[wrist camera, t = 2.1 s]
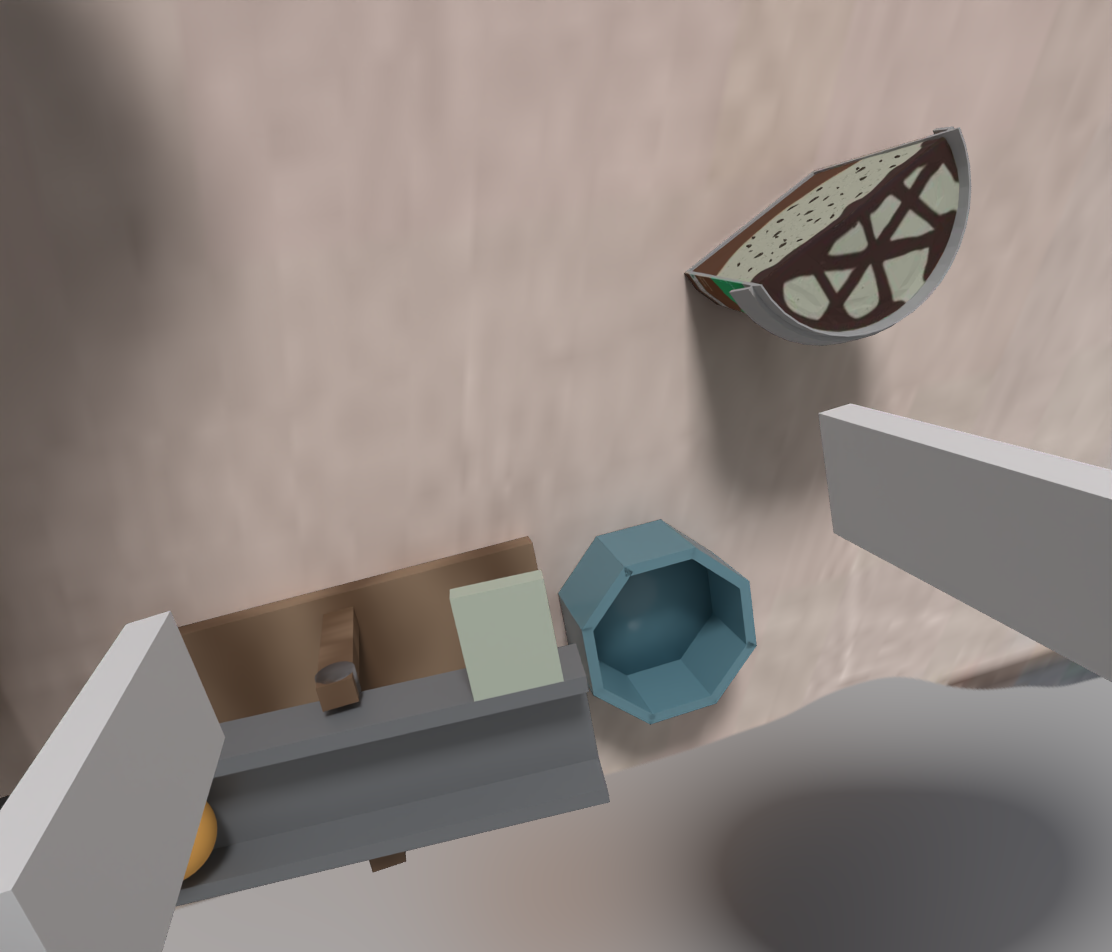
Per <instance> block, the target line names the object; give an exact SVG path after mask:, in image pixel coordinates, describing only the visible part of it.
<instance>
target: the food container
mask: <svg viewBox="0 0 1112 952" xmlns="http://www.w3.org/2000/svg"><path fill="white" fill-rule="evenodd" d="M933 132H934V135H931V136H927V137H924V138H921V139H917V140H914V141H911V142H907V143H904V144H901V145H897V146H894V147H891V148H888V149H884V150H881V151H878V152H874V153H871V154H868V155H864V156H861V157H858V158H854V159H851V160H848V161H844V162H841V163H838V164H834V165H831V166H828V167H825V168H821V169H818V170H815V171H813V172H812V173H810V174H809V175H808V176H807V177H805V178H804V179H803V180H801V181H800V182H799V183H798V184H796V185H795V186H794V187H793V188H791V189H790V190H789V191H788V192H786V193H785V194H784V195H782V196H781V197H780V198H779V199H777V200H776V201H775V202H774V203H772V204H771V205H770V206H768V207H767V208H766V209H765V210H763V211H762V212H761V213H760V214H758V215H757V216H756V217H755V218H753V219H752V220H751V221H749V222H748V223H747V224H746V225H744V226H743V227H742V228H741V229H739V230H738V231H737V232H736V233H734V234H733V235H732V236H730V237H729V238H728V239H727V240H725V241H724V242H723V243H722V244H720V245H719V246H718V247H716V248H715V249H714V250H713V251H711V252H710V253H709V254H708V255H706V256H705V257H704V258H703V259H701V260H700V261H699V262H697V263H696V264H695V265H694V266H692V267H691V268H690V269H689V270H687V271H686V272H685V275H686V276H687V277H688V279H689V280H690V282H691V283H692V284H693V286H694V287H695V288H696V289H697V290H698V291H699V292H701V293H702V294H703V295H705V296H706V297H708V298H709V299H710V300H712V301H713V302H714V303H716V304H718V305H721V306H724V307H728V308H731V309H734V310H738V311H741V312H744V313H746V314H747V315H748V316H749V317H750V318H751V319H752V320H753V321H754V322H755V323H757V324H758V325H760V326H761V327H763V328H764V329H766V330H767V331H768V332H770V333H772V334H774V335H776V336H779V337H781V338H783V339H785V340H788V341H792V342H796V343H800V344H805V345H821V346H823V345H831V344H840V343H844V342H849V341H854V340H858V339H861V338H865V337H868V336H872V335H875V334H877V333H879V332H881V331H883V330H885V329H887V328H889V327H891V326H893V325H894V324H896V323H897V322H899V321H900V320H902V319H903V318H905V317H906V316H908V315H909V314H910V313H912V312H913V311H915V310H916V309H917V308H918V307H919V306H920V305H921V304H922V303H923V302H924V301H925V300H926V299H928V297H929V296H930V295H931V294H932V293H933V291H934V290H935V289H936V288H937V286H938V285H939V284H940V283H941V281H942V280H943V278H944V276H945V275H946V273H947V272H948V270H949V268H950V267H951V265H952V263H953V261H954V258H955V256H956V254H957V252H958V250H959V248H960V245H961V242H962V238H963V235H964V232H965V229H966V225H967V220H968V214H969V209H970V198H971V174H970V163H969V158H968V153H967V148H966V144H965V141H964V138H963V135H962V132H961V129H960V127H959V128H955V129H954V127H945V128H936V129H935V130H933Z"/></svg>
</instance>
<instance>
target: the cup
mask: <svg viewBox="0 0 1112 952" xmlns="http://www.w3.org/2000/svg"><path fill="white" fill-rule="evenodd" d="M558 594H559V599H560V604H561V609H562V614H563V619H564V625H565V630H566V635H567V640H568V645H571V644H575V643H576V645H577V649H578V652H579V655H580V658H581V661H582V665H583V668H584V671H585V674H586V679H587V684H588V686H589V688H590V690H591V692H592V693H593V695H594V696H596V697H598V698H600V699H602V700H604V701H606V702H608V703H610V704H611V705H613V706H615V707H617V708H619V709H621V710H623V711H625V712H627V713H629V714H631V715H633V716H635V717H637V718H639V719H641V720H643V721H645V722H647V723H649V724H650V725H651V724H653V723H656V722H659V721H662V720H666V719H669V718H672V717H675V716H678V715H681V714H684V713H688V712H691V711H694V710H697V709H700V708H703V707H706V706H710V705H713V704H716V703H717V702H718V700H719V699H720V697H721V696H722V694H723V693H724V692H725V690H726V689H727V687H728V686H729V684H730V683H731V682H732V680H733V679H734V677H735V676H736V674H737V673H738V672H739V670H740V669H741V667H742V666H743V664H744V663H745V662H746V660H747V659H748V657H749V656H750V654H751V653H752V652H753V650H754V649H755V647H756V646H757V645H756V636H755V627H754V618H753V609H752V601H751V592H750V583H749V581H748V580H747V579H746V578H745V577H743V576H742V575H741V574H739V573H738V572H737V571H736V570H734V569H733V568H732V567H730V566H729V565H728V564H727V563H725V562H724V561H723V560H721V559H720V558H719V557H718V556H716V555H715V554H714V553H712V552H711V551H709V550H708V549H706V548H705V547H703V546H702V545H700V544H698V543H697V542H695V541H694V540H692V539H691V538H689V537H687V536H686V535H684V534H683V533H681V532H680V531H678V530H676V529H675V528H673V527H672V526H670V525H669V524H667V523H665V522H664V521H662V520H661V519H660V520H656V521H653V522H649V523H645V524H641V525H638V526H634V527H630V528H626V529H623V530H619V531H615V532H611V533H607V534H604V535H600V536H596V538H595V539H594V541H593V542H592V544H591V545H590V547H589V548H588V550H587V551H586V553H585V554H584V556H583V557H582V559H581V560H580V562H579V563H578V565H577V566H576V568H575V569H574V571H573V572H572V574H571V575H570V577H569V578H568V579H567V581H566V582H565V584H564V585H563V587H562V588H561V590H560V591H559V593H558Z"/></svg>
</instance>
